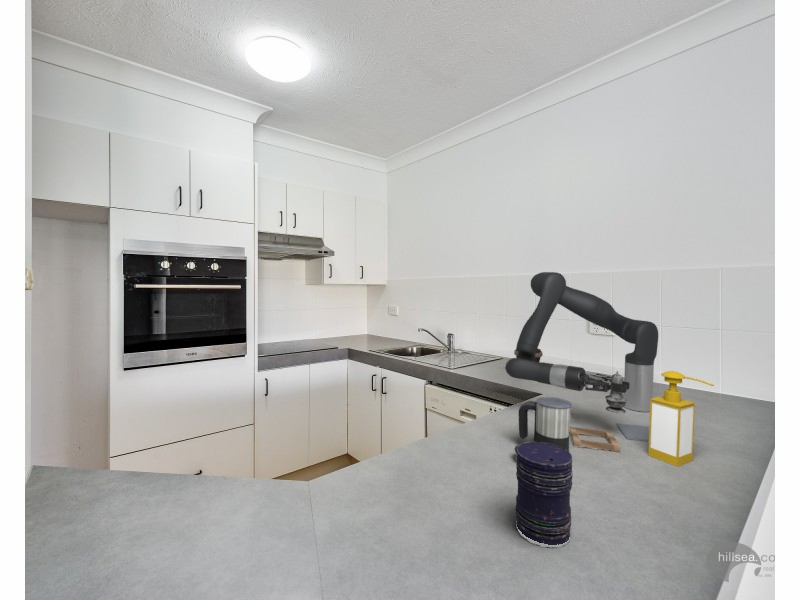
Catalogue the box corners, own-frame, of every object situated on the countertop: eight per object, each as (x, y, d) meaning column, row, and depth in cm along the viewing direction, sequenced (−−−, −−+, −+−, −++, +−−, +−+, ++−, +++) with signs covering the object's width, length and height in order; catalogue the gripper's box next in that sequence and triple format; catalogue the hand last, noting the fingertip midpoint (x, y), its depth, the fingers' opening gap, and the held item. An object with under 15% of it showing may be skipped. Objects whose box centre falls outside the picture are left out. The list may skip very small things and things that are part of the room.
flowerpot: (509, 367, 212) (509, 331, 211) (535, 366, 213) (535, 331, 213) (520, 373, 197) (520, 335, 196) (547, 372, 199) (548, 335, 198)
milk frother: (569, 450, 106) (570, 398, 105) (574, 477, 91) (576, 416, 90) (516, 442, 111) (517, 392, 110) (513, 467, 96) (514, 409, 95)
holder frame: (569, 431, 119) (569, 426, 119) (610, 436, 116) (610, 431, 116) (574, 446, 108) (574, 441, 108) (620, 452, 105) (620, 446, 104)
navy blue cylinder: (507, 515, 76) (508, 442, 75) (554, 513, 76) (556, 441, 76) (528, 550, 66) (530, 466, 65) (581, 547, 67) (584, 464, 66)
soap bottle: (702, 476, 92) (706, 380, 91) (648, 455, 103) (651, 369, 102) (717, 469, 95) (721, 377, 94) (663, 450, 106) (666, 367, 105)
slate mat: (616, 424, 125) (616, 423, 125) (658, 429, 122) (658, 427, 121) (626, 439, 114) (626, 437, 114) (672, 444, 110) (673, 442, 110)
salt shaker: (630, 414, 111) (632, 374, 110) (609, 413, 112) (611, 373, 111) (621, 407, 117) (623, 369, 116) (601, 406, 117) (603, 368, 117)
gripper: (560, 369, 117) (623, 380, 106) (574, 362, 128) (633, 370, 117) (559, 393, 118) (622, 406, 107) (573, 383, 129) (631, 394, 117)
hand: (627, 387), depth 112 cm, fingers closed on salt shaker, 3 cm apart
